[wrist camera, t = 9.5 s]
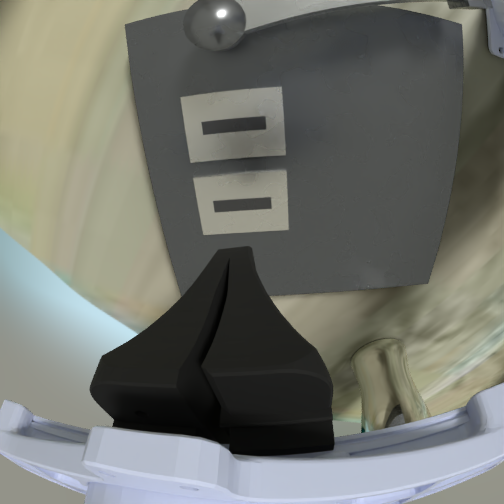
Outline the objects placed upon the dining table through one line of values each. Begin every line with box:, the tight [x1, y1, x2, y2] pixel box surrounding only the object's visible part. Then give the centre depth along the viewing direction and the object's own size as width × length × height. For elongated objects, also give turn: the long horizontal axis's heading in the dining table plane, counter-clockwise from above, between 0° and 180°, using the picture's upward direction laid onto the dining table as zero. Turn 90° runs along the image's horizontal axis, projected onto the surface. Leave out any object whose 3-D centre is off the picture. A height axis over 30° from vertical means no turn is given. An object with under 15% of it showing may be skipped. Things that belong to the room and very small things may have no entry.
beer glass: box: [351, 338, 432, 433], centre depth 23 cm, size 7×7×15 cm
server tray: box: [125, 5, 463, 296], centre depth 16 cm, size 18×18×4 cm
